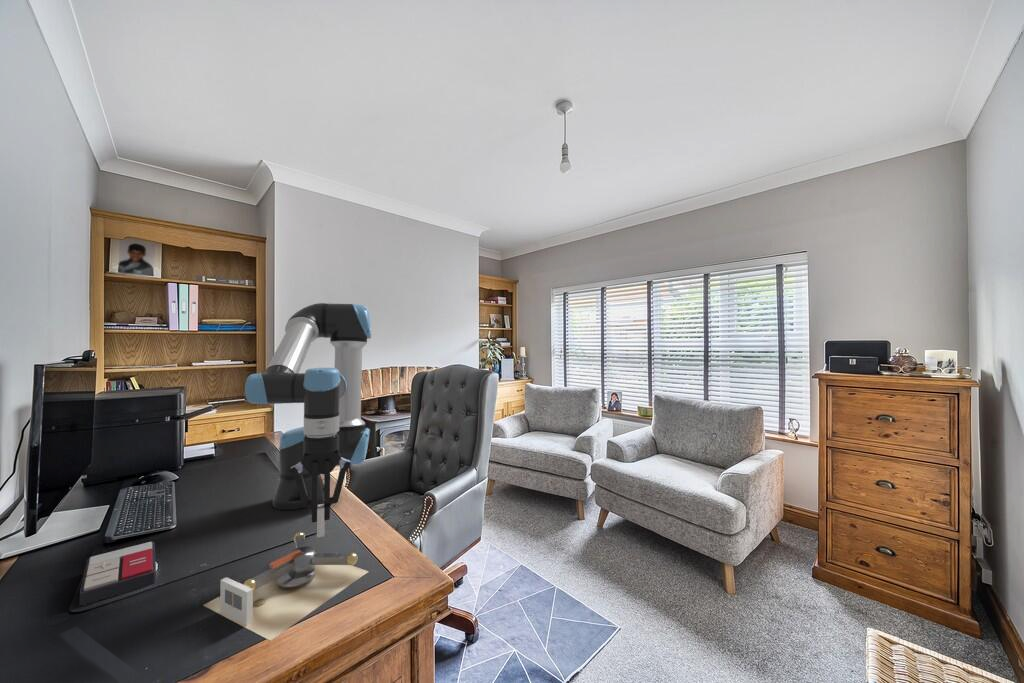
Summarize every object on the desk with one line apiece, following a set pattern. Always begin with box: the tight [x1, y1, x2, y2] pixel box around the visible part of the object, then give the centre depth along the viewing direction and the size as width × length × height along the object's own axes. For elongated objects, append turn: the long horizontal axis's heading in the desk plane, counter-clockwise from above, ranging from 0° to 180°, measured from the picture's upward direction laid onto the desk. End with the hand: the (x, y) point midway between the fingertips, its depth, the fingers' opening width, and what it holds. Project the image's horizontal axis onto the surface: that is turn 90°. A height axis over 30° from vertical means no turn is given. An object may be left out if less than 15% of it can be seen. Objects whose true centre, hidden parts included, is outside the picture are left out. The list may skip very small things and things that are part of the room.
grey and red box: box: [79, 541, 157, 606], centre depth 85 cm, size 11×4×15 cm
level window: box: [219, 576, 253, 626], centre depth 71 cm, size 1×8×6 cm, turn 65°
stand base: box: [203, 565, 370, 642], centre depth 80 cm, size 22×20×2 cm
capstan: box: [242, 531, 359, 591], centre depth 85 cm, size 18×21×6 cm
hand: (320, 534), depth 92 cm, fingers closed
